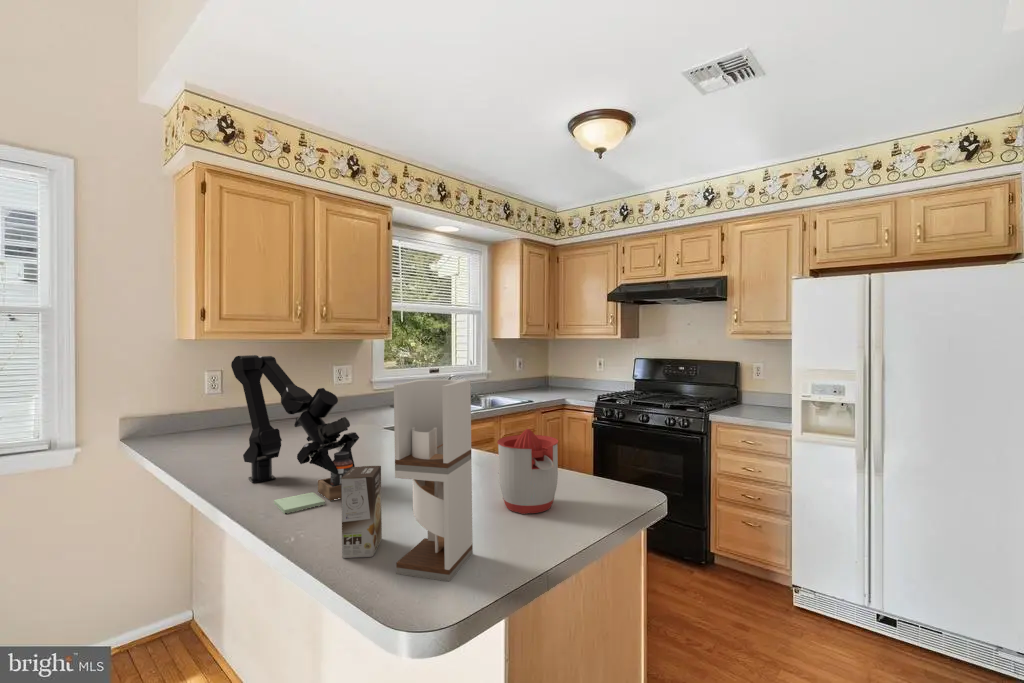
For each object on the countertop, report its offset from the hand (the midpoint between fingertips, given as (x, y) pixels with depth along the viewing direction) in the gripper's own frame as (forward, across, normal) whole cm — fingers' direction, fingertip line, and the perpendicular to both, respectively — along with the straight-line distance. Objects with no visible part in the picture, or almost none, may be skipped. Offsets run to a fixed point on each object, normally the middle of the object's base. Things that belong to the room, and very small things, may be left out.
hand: (345, 470), depth 138 cm
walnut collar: (+4, 0, +6) cm, 7 cm away
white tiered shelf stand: (+38, -25, -29) cm, 54 cm away
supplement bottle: (+4, 0, +6) cm, 7 cm away
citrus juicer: (+42, +10, -32) cm, 53 cm away
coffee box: (+26, -26, -16) cm, 40 cm away
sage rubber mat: (+1, -12, +8) cm, 14 cm away
